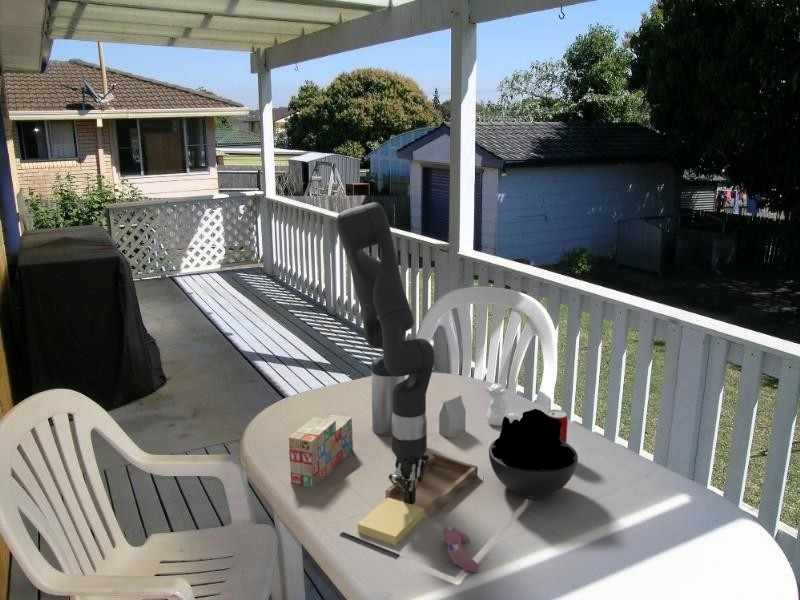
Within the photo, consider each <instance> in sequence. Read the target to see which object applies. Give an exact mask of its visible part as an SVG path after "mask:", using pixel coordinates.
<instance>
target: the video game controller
mask: <svg viewBox="0 0 800 600" xmlns="http://www.w3.org/2000/svg"><path fill="white" fill-rule="evenodd" d="M442 534H443V536H441V540H442V542H444V543H445V542H446V543H447V546H448V547H447V548H446V549H447V553H448V555H449V558H450V559H451V561H452V563H453V565H455V566H458V567H459V568H460V569H462V570H464V571H466V572H468V573H478V570H479V563H478V562H476V560H475V559H472V558H471V557H470V556H469V555H467V554H466V553H465V551H464V548H463V544H468V543H470V542H471V539H470V538H469V536H467V535H466V534H465V533H463V532H461V531H460V530H458V528H456V527H455V526H453V525H452V526H448V527H446V528H443V529H442Z"/></svg>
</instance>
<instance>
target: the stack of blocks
mask: <svg viewBox="0 0 800 600" xmlns="http://www.w3.org/2000/svg"><path fill="white" fill-rule="evenodd" d="M352 420H353V419H352V417H349V416H345V415H344V416H343V415H336V414H330V415H329V416H327V417H326V418H320V417H316V416H313V417H312V418H311V419H310V420H309V421H308V422H306V423H305V424H304V425H303V426H302V427H300V428H299V429H298V430H296V431H295V432H294V433H292V434H291V435H290V436H289V437H288V446H289V451H288V453H289V465H290V466H289V467H290V469H289V470H290V484H292V483H294V484H293V485H297V484H299V485H298V486H302V485H304V486H303V487H307V486H309V487H308V488H311V487H314V486H315V485H316V484H317V485H318V484H319V483H321V482H322V481H323V480H324V479H325V478H326V476H328V475H329V474H330V473H331V472H332V471H333V470H334V469H335V468H336V467H337V466H338V465H339V463H340V462H342V460H344V459H345V458H346V457H347V456H348V455H349V454H350V453H351V452H352V451H353V449H354V445H353V443H354V442H353V438H354V437H353V435H354V434H353V424H352V423H353V422H352ZM323 478H324V479H323ZM322 479H323V480H322ZM321 480H322V481H321ZM320 481H321V482H320ZM305 485H306V486H305ZM317 485H316V486H317ZM316 486H315V487H316ZM315 487H314V488H315Z"/></svg>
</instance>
